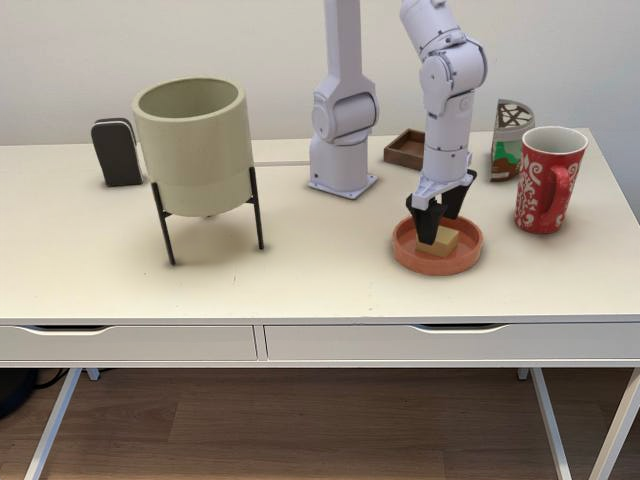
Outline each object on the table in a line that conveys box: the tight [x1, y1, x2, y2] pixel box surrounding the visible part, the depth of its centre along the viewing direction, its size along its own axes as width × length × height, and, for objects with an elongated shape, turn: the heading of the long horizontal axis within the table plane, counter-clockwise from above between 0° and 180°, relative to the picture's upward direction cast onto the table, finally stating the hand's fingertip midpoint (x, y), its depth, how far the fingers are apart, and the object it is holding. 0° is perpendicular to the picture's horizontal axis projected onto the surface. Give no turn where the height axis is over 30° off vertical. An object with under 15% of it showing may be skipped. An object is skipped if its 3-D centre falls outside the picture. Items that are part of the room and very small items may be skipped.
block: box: [415, 226, 459, 258], centre depth 98 cm, size 5×4×2 cm
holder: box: [382, 128, 425, 172], centre depth 119 cm, size 9×9×2 cm
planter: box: [131, 74, 265, 266], centre depth 96 cm, size 15×16×23 cm
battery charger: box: [90, 117, 144, 187], centre depth 116 cm, size 7×4×11 cm, turn 92°
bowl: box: [391, 214, 484, 276], centre depth 98 cm, size 13×13×2 cm
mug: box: [513, 125, 590, 235], centre depth 97 cm, size 13×9×14 cm
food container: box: [489, 98, 536, 183], centre depth 111 cm, size 12×6×10 cm, turn 168°
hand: (438, 229), depth 96 cm, fingers open, 7 cm apart
